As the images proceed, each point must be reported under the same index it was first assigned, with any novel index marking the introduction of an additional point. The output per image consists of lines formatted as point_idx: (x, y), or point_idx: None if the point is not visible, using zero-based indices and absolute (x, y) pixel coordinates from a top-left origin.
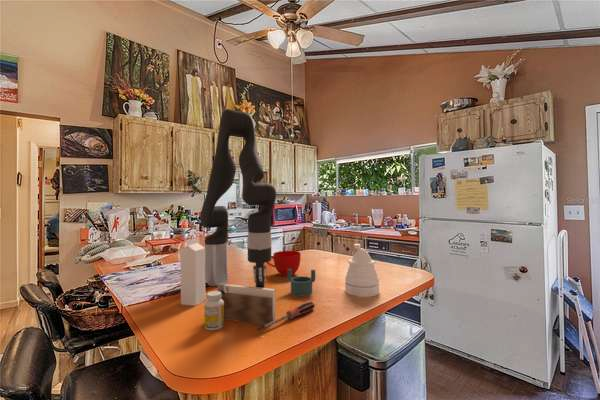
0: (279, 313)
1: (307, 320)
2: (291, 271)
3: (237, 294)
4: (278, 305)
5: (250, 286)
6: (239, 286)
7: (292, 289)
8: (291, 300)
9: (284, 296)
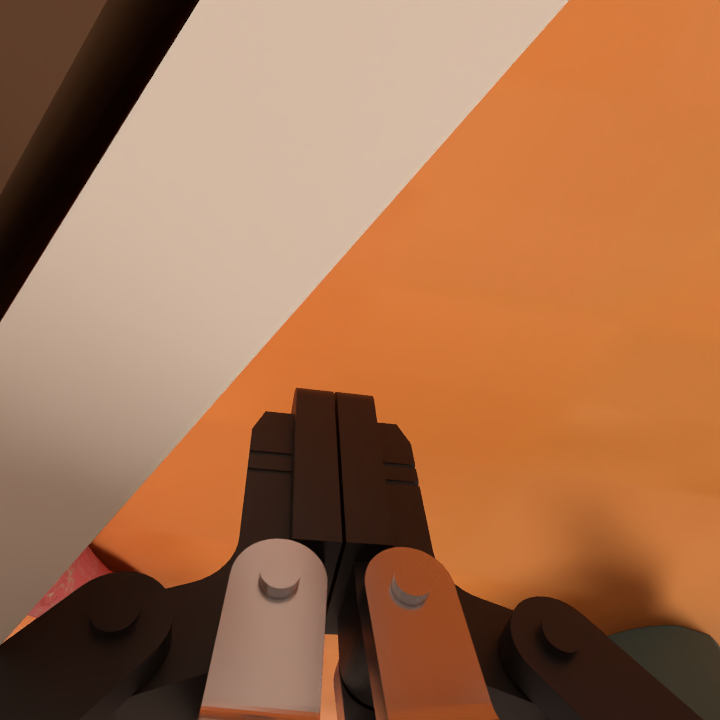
0: (235, 484)
1: (19, 623)
2: None
3: (60, 10)
4: (445, 507)
5: (85, 544)
6: (178, 190)
7: (657, 673)
8: (504, 604)
9: (633, 578)
